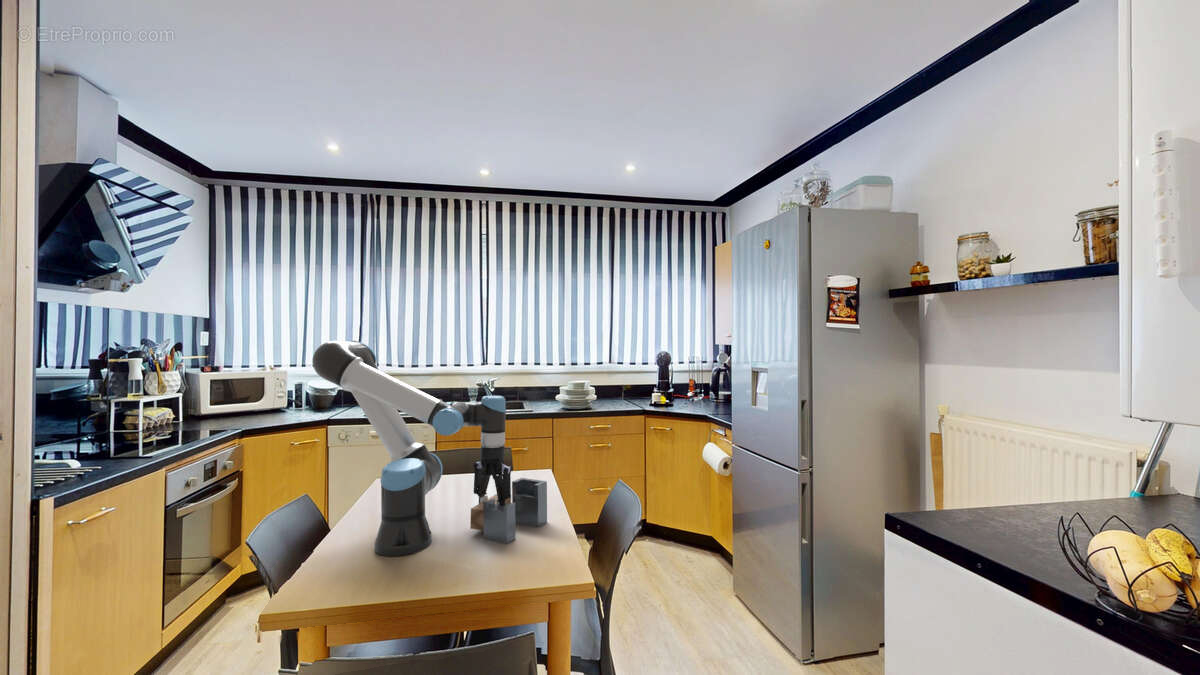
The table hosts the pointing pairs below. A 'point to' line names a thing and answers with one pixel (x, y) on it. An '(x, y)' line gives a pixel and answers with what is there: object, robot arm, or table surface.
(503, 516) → the cup bracket stand
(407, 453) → the robot arm
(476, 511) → the walnut rail
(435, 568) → the table surface
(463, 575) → the table surface
